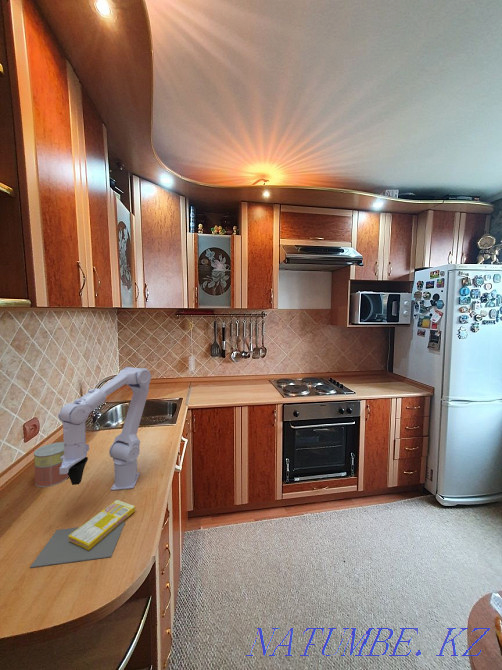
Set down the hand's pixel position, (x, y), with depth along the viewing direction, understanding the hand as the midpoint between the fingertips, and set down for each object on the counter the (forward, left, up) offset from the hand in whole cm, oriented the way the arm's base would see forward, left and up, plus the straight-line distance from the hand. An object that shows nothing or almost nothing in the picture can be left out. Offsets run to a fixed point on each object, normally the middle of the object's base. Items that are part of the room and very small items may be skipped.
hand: (76, 483), depth 84 cm
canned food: (-23, -19, -11) cm, 32 cm away
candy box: (+4, +7, -9) cm, 12 cm away
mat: (+12, +7, -10) cm, 17 cm away
